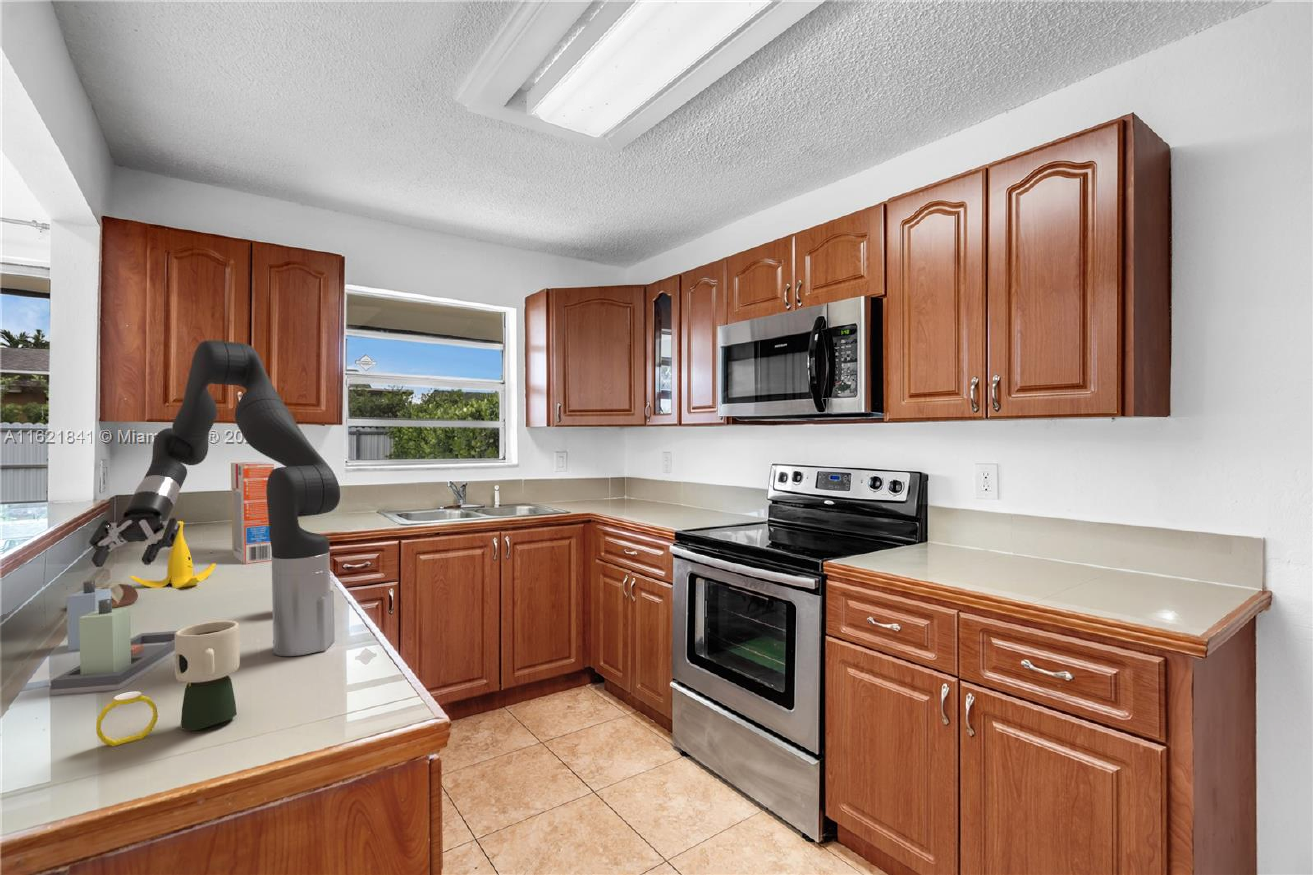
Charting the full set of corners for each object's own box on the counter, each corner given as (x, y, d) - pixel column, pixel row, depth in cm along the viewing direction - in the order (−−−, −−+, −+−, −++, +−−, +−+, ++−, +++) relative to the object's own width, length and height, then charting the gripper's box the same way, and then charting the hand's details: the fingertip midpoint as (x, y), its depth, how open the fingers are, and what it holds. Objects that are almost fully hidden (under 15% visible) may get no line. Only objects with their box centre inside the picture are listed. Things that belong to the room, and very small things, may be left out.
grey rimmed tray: (195, 641, 120) (195, 625, 120) (119, 689, 98) (118, 670, 98) (141, 645, 119) (141, 629, 119) (50, 695, 96) (50, 675, 96)
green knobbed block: (131, 668, 104) (129, 595, 104) (113, 678, 100) (112, 603, 100) (99, 670, 104) (98, 597, 103) (80, 681, 99) (78, 604, 99)
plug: (112, 640, 121) (110, 578, 121) (96, 648, 117) (94, 583, 117) (84, 642, 120) (83, 579, 120) (67, 650, 116) (66, 585, 116)
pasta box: (275, 560, 197) (273, 464, 197) (244, 564, 192) (243, 465, 191) (261, 550, 214) (259, 461, 214) (232, 554, 209) (230, 462, 208)
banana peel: (216, 575, 178) (215, 515, 178) (196, 590, 161) (194, 524, 160) (144, 581, 172) (143, 519, 172) (115, 597, 154) (113, 529, 154)
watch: (154, 732, 84) (157, 686, 85) (156, 739, 82) (160, 693, 83) (94, 744, 80) (98, 696, 80) (95, 752, 78) (99, 703, 78)
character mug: (176, 716, 88) (174, 623, 88) (237, 703, 92) (236, 614, 92) (176, 747, 79) (173, 644, 79) (243, 730, 84) (241, 632, 84)
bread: (127, 597, 155) (127, 577, 155) (143, 604, 148) (143, 583, 148) (66, 608, 146) (66, 586, 146) (80, 616, 139) (79, 593, 139)
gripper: (107, 491, 135) (70, 555, 124) (183, 489, 138) (153, 551, 127) (124, 512, 140) (89, 576, 129) (196, 510, 143) (168, 572, 132)
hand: (121, 563), depth 128 cm, fingers open, 8 cm apart
